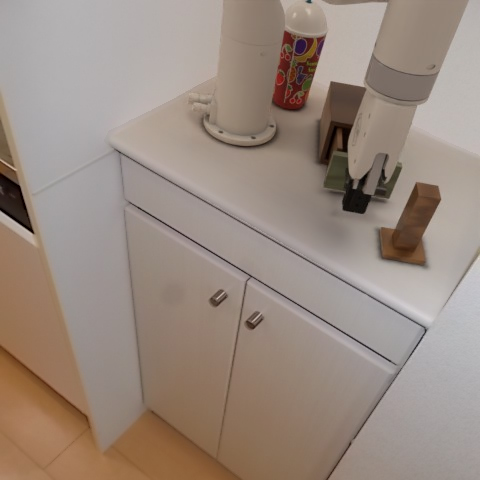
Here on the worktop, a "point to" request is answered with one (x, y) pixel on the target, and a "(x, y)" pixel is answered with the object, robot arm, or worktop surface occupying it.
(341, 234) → the worktop surface
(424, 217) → the stand
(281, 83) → the smoothie
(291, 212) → the worktop surface
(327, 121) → the cabinet
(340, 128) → the drawer
